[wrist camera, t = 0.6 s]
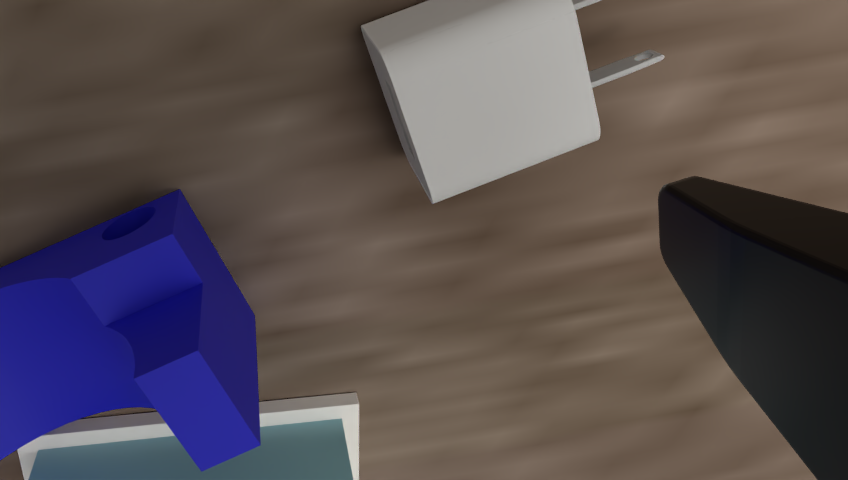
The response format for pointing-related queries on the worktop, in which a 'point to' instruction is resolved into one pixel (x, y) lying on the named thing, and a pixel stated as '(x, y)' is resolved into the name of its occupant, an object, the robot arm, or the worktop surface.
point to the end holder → (174, 468)
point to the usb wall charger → (488, 86)
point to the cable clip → (130, 334)
